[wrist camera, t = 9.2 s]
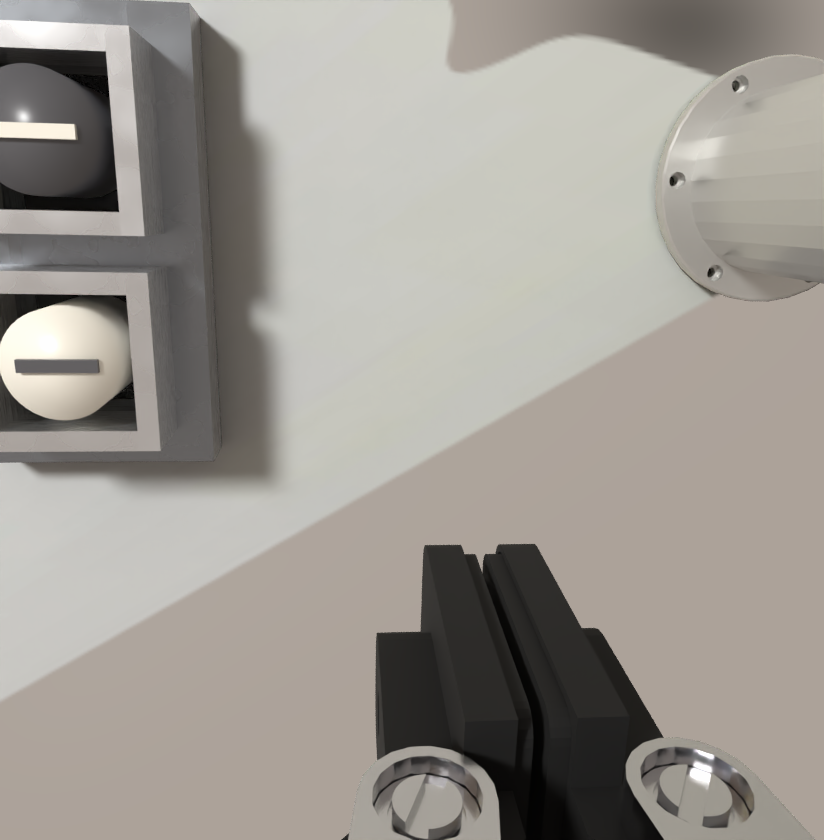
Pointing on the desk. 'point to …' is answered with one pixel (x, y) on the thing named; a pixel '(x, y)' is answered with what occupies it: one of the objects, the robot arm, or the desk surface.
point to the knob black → (54, 135)
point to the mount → (123, 232)
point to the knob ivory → (68, 356)
